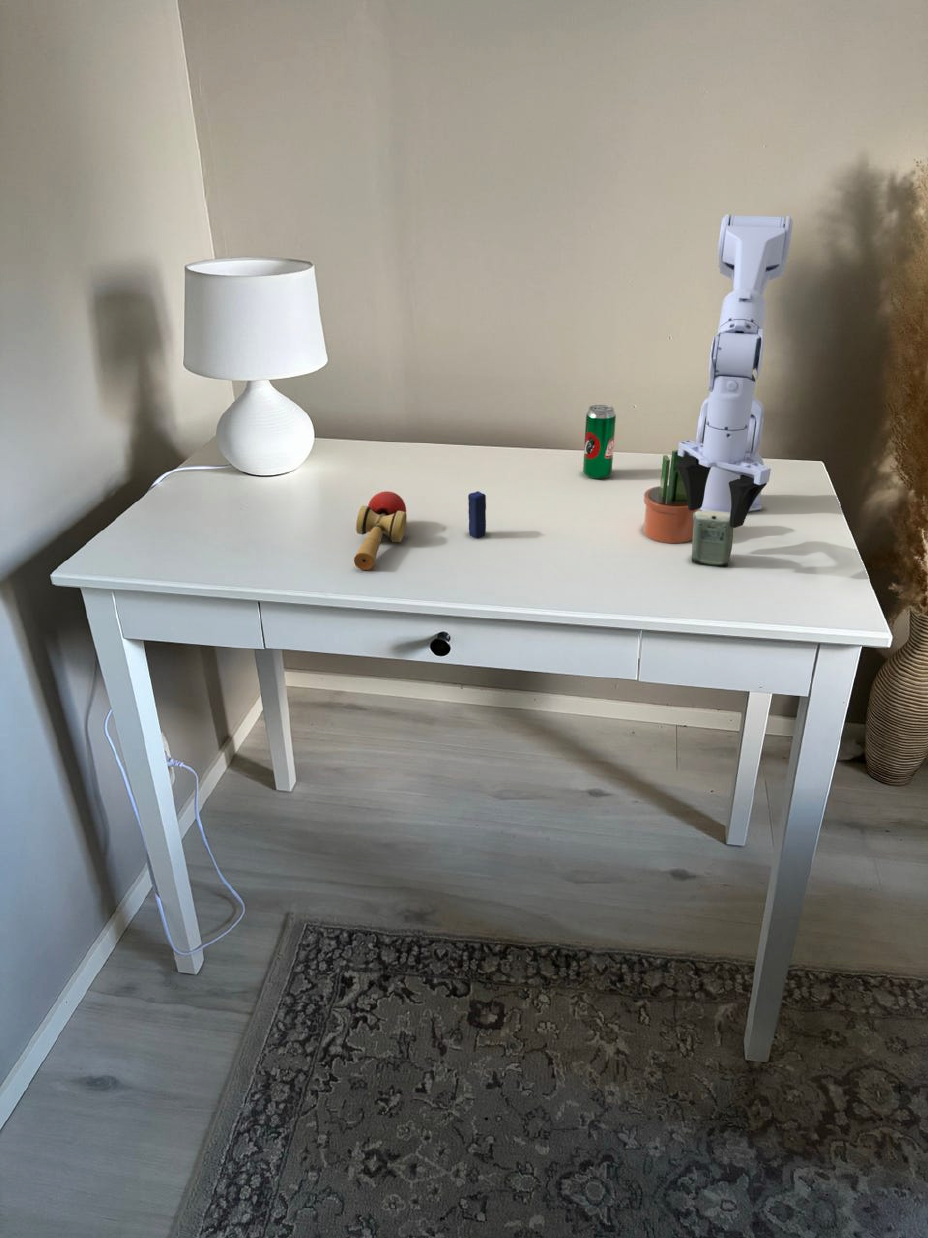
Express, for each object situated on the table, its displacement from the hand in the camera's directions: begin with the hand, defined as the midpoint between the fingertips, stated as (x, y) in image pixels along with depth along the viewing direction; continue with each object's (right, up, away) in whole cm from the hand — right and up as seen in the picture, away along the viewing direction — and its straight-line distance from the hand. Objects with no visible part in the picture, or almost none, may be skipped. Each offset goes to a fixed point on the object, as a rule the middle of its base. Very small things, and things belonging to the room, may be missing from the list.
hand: (715, 516), depth 138 cm
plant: (-4, -1, +12) cm, 13 cm away
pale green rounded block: (0, -6, +3) cm, 7 cm away
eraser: (-34, -2, +12) cm, 36 cm away
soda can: (-12, +11, +34) cm, 38 cm away
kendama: (-48, -4, +9) cm, 49 cm away
